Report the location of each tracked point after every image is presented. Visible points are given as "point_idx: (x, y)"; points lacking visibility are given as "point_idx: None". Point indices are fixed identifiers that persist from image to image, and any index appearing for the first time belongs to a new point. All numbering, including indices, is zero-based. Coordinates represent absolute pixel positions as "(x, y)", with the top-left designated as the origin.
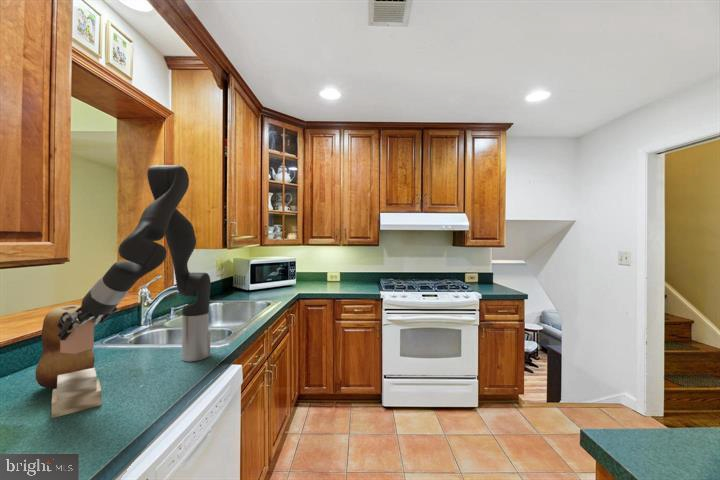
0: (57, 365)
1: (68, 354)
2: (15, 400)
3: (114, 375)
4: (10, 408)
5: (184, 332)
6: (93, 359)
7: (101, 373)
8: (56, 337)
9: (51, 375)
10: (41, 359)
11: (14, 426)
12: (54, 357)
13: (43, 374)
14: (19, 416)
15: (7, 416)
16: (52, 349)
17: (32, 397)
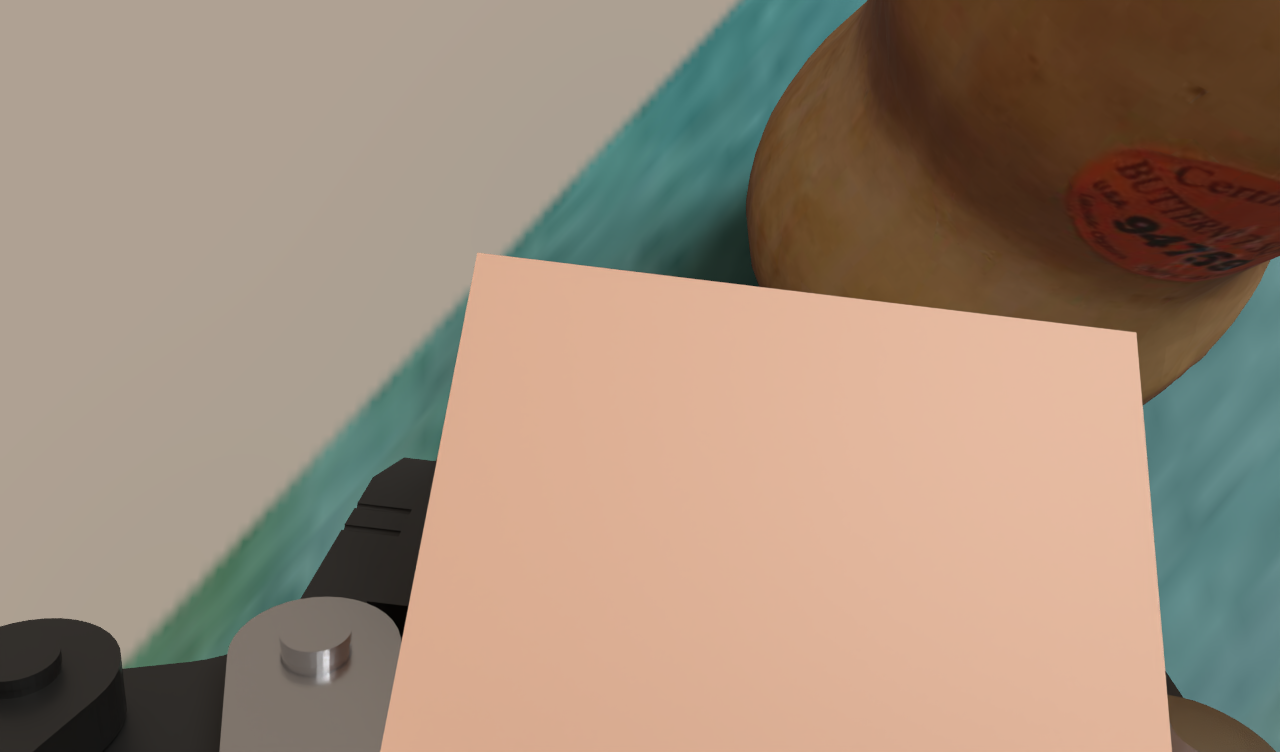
0: (820, 267)
1: (942, 265)
2: (644, 167)
3: (1213, 548)
4: (530, 253)
5: None
6: (1156, 394)
7: (1207, 380)
8: (935, 14)
9: (769, 279)
10: (830, 48)
11: (273, 561)
12: (849, 173)
13: (751, 208)
14: (419, 442)
15: (417, 353)
16: (881, 79)
17: (702, 238)
